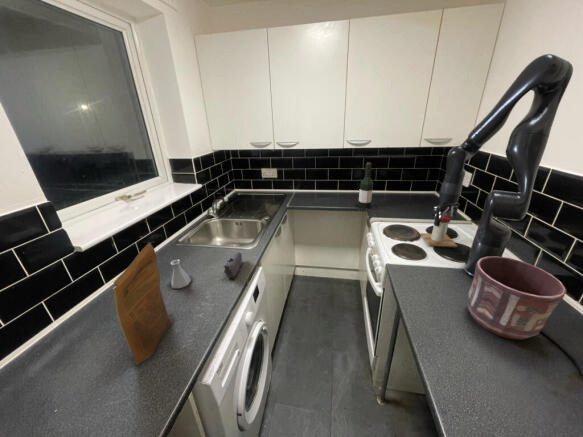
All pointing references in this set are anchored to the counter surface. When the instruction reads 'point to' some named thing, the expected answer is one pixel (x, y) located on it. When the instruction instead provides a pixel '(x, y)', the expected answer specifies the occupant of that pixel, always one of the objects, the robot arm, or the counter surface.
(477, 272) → the pottery
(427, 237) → the wooden trivet
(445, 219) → the jam lid
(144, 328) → the pancake mix bag
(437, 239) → the jam jar
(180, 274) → the flask
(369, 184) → the wine bottle
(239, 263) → the perforated stone tool
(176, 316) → the counter surface
